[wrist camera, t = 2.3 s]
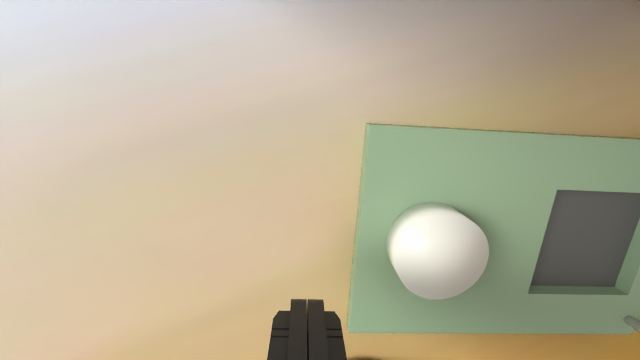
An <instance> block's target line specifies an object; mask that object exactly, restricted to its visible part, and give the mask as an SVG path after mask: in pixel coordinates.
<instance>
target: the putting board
mask: <svg viewBox="0 0 640 360" xmlns="http://www.w3.org/2000/svg"><path fill="white" fill-rule="evenodd" d="M425 202H440V203H444V204H447V205H449V206H451V207H453V208H454V209H456V210H457V211H458V212H460V213H461V214H463V215H464V216H465V217H467V218H468V219H470V220H471V221H472V222H474V223H475V224H476V225H478V226H479V227H480V229H481V230H482V231H483V233H484V234H485V236H486V238H487V241H488V246H489V257H488V262H487V265H486V268H485V270H484V272H483V273H482V275H481V277H480V278H479V279H478V280H477V282H476V283H475V284H474V285H472V286H471V287H470V288H469V289H467V290H466V291H464V292H463V293H461V294H459V295H456V296H454V297H451V298H447V299H439V300H433V299H426V298H422V297H419V296H417V295H415V294H413V293H412V292H410V291H409V290H408V289H407V288H406V287H405V286H404V285H403V283H402V281H401V280H400V278H399V276H398V274H397V272H396V271H395V269H394V267H393V265H392V263H391V261H390V260H389V257H388V255H387V251H386V239H387V234H388V231H389V229H390V227H391V225H392V224H393V222H394V221H395V219H396V218H397V217H398V216H399V215H400V214H401V213H402V212H404V211H405V210H407V209H408V208H410V207H412V206H414V205H417V204H420V203H425ZM639 318H640V139H638V138H620V137H602V136H584V135H566V134H549V133H531V132H513V131H495V130H477V129H459V128H441V127H423V126H406V125H388V124H370V123H366V130H365V140H364V151H363V161H362V171H361V181H360V191H359V201H358V212H357V222H356V232H355V242H354V252H353V262H352V273H351V283H350V293H349V303H348V313H347V326H348V331H349V333H465V334H633V332H634V330H637V331H638V332H640V322H639V321H638V320H639Z"/></svg>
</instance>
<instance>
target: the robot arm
mask: <svg viewBox="0 0 640 360" xmlns="http://www.w3.org/2000/svg"><path fill="white" fill-rule="evenodd" d="M267 360H347V358H346V352H345V346H344V340H343V334H342V328H341V321H340V319H339V317H338V316H337V314H336V313H335V312H332V311H324V302H323V300H314V299H308V302H307V300H306V299H291V309H290V311H279V312H278V313H277V314H276V316H275V317H274V318H273V324H272V331H271V338H270V344H269V351H268V358H267Z"/></svg>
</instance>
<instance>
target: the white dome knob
mask: <svg viewBox="0 0 640 360" xmlns="http://www.w3.org/2000/svg"><path fill="white" fill-rule="evenodd" d="M386 251H387V255H388V257H389V260H390V261H391V263H392V265H393V267H394V269H395V271H396V272H397V274H398V276H399V278H400V280H401V281H402V283H403V285H404V286H405V287H406V288H407V289H408V290H409V291H410V292H412V293H413V294H415V295H417V296H419V297H422V298H426V299H433V300H439V299H447V298H451V297H454V296H456V295H459V294H461V293H463V292H464V291H466V290H467V289H469V288H470V287H471V286H472V285H474V284H475V283H476V282H477V280H478V279H479V278H480V277H481V275H482V273H483V272H484V270H485V268H486V265H487V262H488V257H489V246H488V241H487V238H486V236H485V234H484V233H483V231H482V230H481V229H480V227H479V226H478V225H476V224H475V223H474V222H472V221H471V220H470V219H468V218H467V217H465V216H464V215H463V214H461V213H460V212H458V211H457V210H456V209H454V208H453V207H451V206H449V205H447V204H444V203H440V202H425V203H420V204H417V205H414V206H412V207H410V208H408V209H407V210H405V211H404V212H402V213H401V214H400V215H399V216H398V217H397V218H396V219H395V221H394V222H393V224H392V225H391V227H390V229H389V231H388V234H387V239H386Z"/></svg>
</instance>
